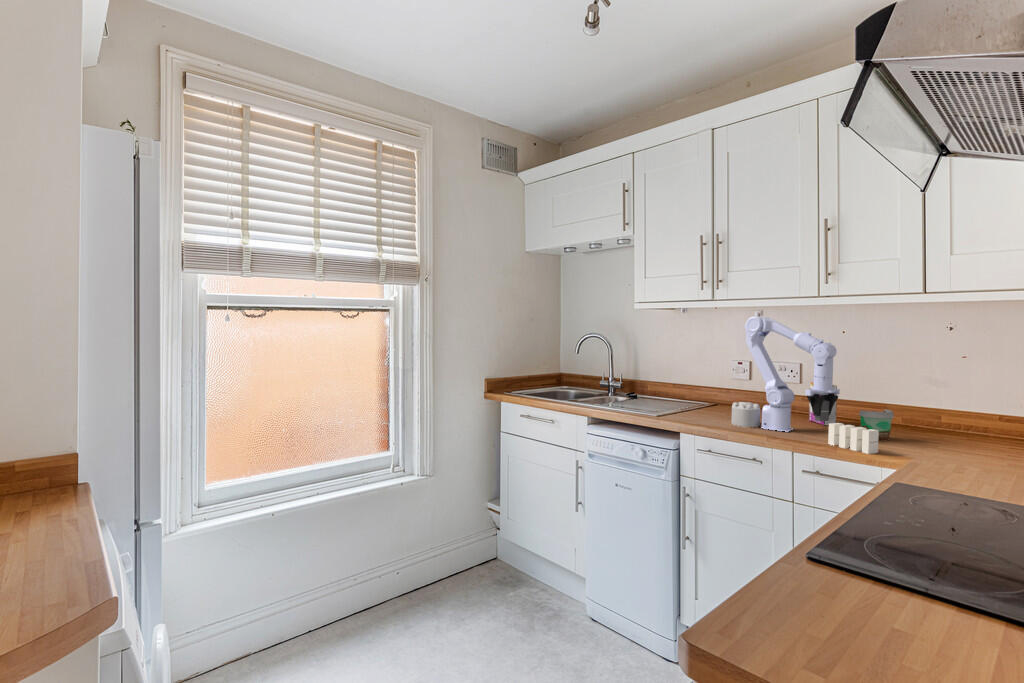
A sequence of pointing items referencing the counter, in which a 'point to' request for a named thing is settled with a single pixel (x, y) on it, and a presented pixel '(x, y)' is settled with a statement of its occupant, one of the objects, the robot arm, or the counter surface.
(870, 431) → the domino
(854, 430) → the domino
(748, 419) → the lumpy-topped squat cylinder
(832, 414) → the candy bar box
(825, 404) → the black domino
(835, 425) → the domino
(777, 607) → the counter surface
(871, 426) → the food container
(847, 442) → the domino
